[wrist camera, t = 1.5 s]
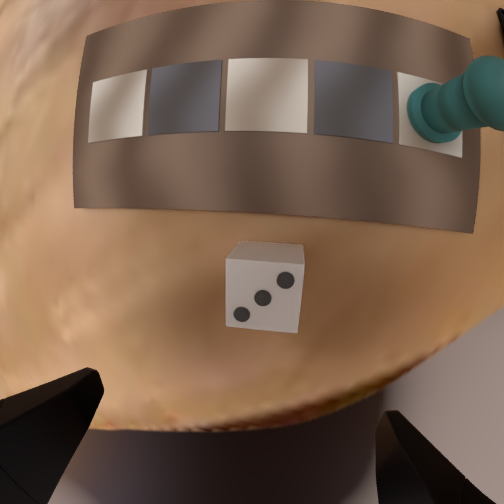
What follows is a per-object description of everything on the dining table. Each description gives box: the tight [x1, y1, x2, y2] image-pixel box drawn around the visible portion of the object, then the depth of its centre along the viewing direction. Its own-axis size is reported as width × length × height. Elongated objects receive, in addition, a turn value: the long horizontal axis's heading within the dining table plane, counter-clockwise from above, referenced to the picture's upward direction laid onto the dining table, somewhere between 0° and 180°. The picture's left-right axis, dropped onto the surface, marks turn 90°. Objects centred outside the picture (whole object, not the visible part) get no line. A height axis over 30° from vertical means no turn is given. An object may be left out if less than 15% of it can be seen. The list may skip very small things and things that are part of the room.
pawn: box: [407, 56, 504, 143], centre depth 9 cm, size 4×4×8 cm
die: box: [226, 240, 305, 333], centre depth 17 cm, size 4×4×4 cm
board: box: [73, 0, 480, 234], centre depth 15 cm, size 28×14×1 cm, turn 88°
